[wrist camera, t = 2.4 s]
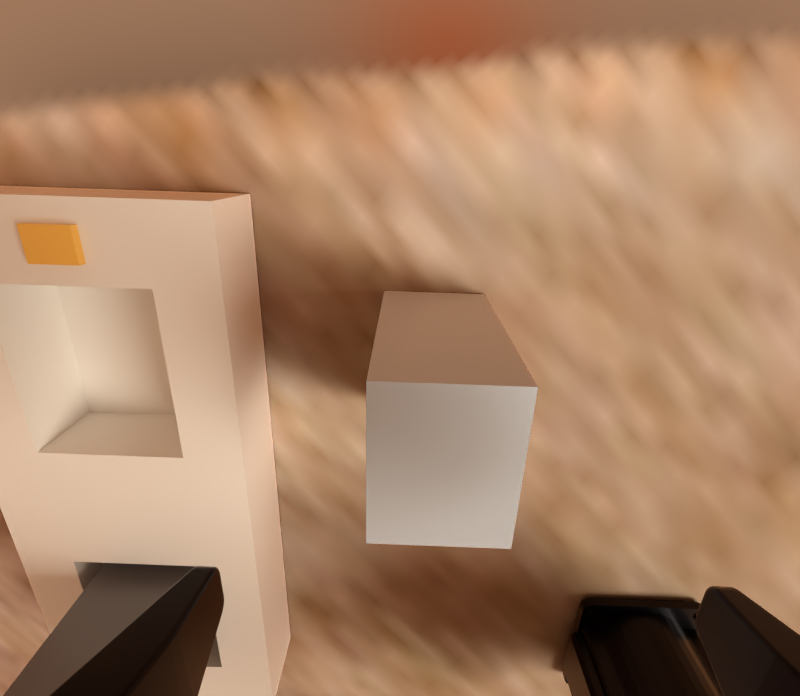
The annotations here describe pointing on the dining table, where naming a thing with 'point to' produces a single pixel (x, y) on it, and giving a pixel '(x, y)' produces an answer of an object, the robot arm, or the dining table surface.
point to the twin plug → (94, 622)
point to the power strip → (141, 406)
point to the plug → (445, 423)
